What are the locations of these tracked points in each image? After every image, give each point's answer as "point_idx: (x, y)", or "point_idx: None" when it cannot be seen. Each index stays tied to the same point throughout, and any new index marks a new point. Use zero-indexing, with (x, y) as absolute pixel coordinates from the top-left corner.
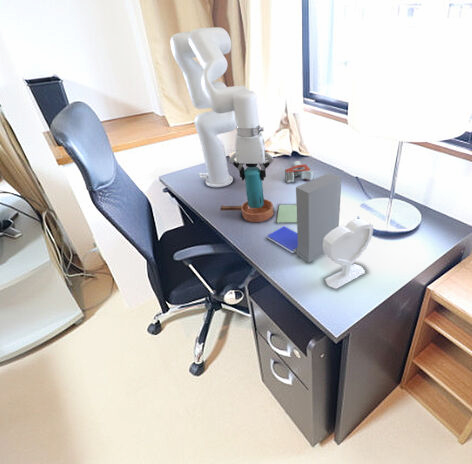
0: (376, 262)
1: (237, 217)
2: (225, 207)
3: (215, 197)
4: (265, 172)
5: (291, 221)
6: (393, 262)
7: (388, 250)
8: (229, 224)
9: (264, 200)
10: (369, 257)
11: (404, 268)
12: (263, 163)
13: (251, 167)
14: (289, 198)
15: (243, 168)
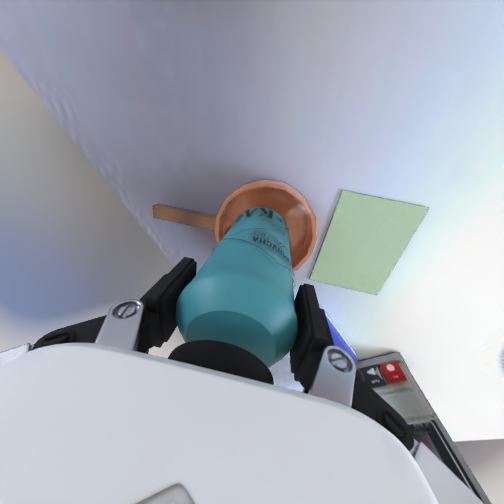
0: (443, 413)
1: (210, 231)
2: (167, 219)
3: (113, 72)
4: (326, 331)
5: (347, 286)
6: (471, 421)
7: (493, 404)
8: (195, 257)
9: (293, 196)
10: (441, 404)
11: (476, 431)
12: (336, 398)
13: (222, 331)
14: (400, 139)
15: (161, 315)
